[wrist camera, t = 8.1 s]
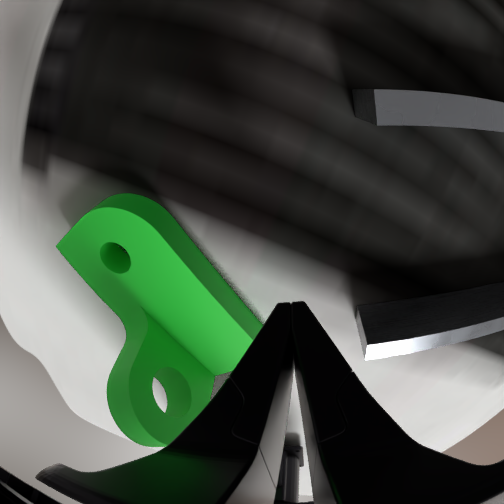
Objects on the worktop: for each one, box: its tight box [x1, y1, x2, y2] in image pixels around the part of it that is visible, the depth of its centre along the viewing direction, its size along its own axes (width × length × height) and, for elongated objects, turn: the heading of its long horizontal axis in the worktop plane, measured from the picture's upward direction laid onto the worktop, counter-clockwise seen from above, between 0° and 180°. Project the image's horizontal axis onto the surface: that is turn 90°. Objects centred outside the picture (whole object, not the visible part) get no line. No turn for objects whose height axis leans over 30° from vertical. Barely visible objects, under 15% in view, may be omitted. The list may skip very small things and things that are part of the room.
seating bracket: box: [352, 89, 504, 360], centre depth 11 cm, size 12×15×3 cm
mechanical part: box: [56, 193, 263, 447], centre depth 13 cm, size 12×6×8 cm, turn 34°
